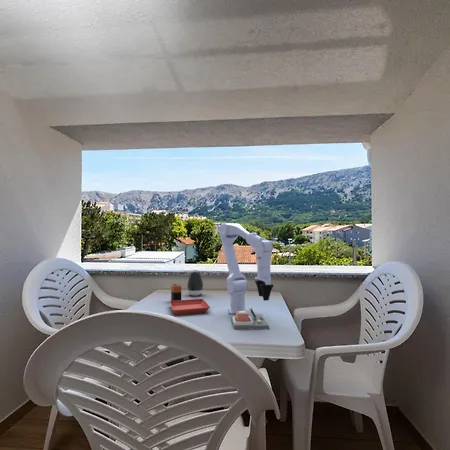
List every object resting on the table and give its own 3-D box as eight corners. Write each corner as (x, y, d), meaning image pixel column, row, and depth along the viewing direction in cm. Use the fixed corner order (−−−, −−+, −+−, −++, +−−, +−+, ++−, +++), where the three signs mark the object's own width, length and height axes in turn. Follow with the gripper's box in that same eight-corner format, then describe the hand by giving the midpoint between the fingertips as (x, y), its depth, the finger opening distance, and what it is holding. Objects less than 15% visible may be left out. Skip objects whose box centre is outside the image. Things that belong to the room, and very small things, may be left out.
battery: (178, 299, 166) (178, 282, 167) (181, 302, 160) (181, 284, 160) (171, 300, 165) (171, 282, 165) (173, 303, 158) (173, 284, 159)
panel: (230, 317, 133) (230, 311, 133) (261, 316, 134) (261, 311, 134) (234, 329, 117) (234, 323, 117) (268, 328, 118) (268, 322, 118)
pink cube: (236, 320, 125) (236, 310, 125) (246, 320, 125) (246, 310, 125) (237, 323, 120) (237, 313, 120) (248, 323, 121) (248, 313, 121)
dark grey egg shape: (204, 293, 184) (204, 269, 184) (201, 296, 173) (202, 271, 174) (188, 292, 185) (189, 268, 185) (185, 296, 174) (185, 271, 175)
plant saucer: (172, 316, 135) (172, 309, 135) (169, 306, 152) (169, 300, 152) (210, 313, 140) (210, 307, 140) (202, 304, 157) (203, 298, 157)
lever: (253, 318, 128) (248, 306, 128) (256, 316, 128) (250, 305, 128) (254, 320, 126) (248, 308, 126) (257, 318, 126) (251, 307, 126)
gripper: (251, 265, 135) (251, 294, 135) (259, 269, 121) (258, 302, 121) (266, 265, 136) (266, 294, 136) (275, 269, 122) (275, 302, 122)
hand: (263, 298), depth 128 cm, fingers open, 7 cm apart
